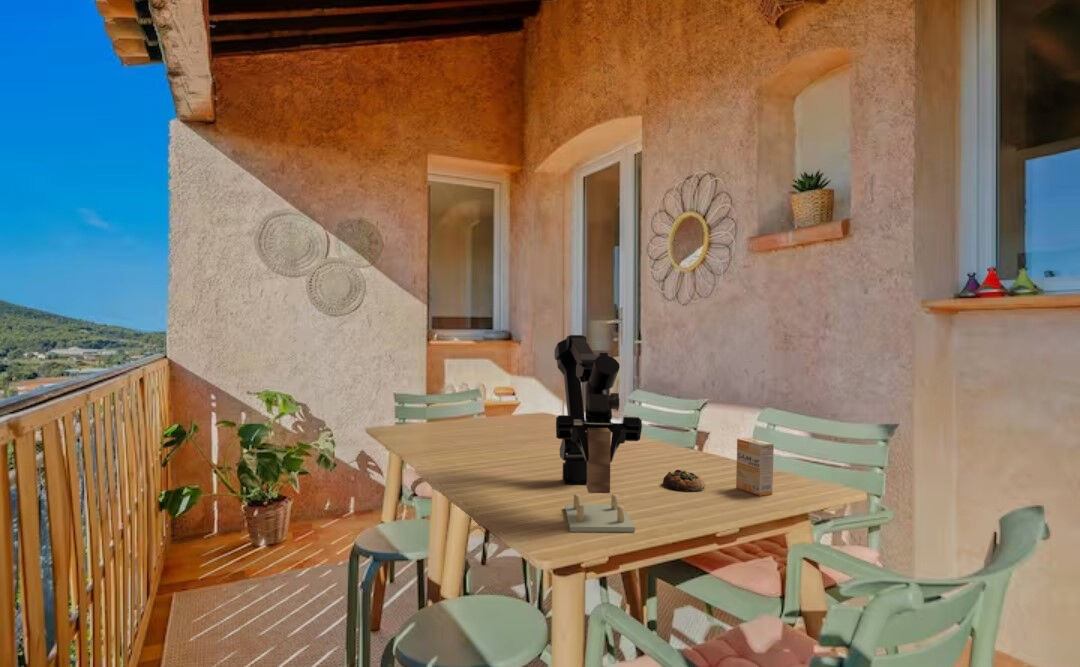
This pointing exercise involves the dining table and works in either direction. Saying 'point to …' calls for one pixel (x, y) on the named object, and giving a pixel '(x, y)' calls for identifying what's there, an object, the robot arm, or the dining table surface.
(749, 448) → the supplement box
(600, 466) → the walnut block
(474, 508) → the dining table surface
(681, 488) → the bread roll
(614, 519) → the pin plate
